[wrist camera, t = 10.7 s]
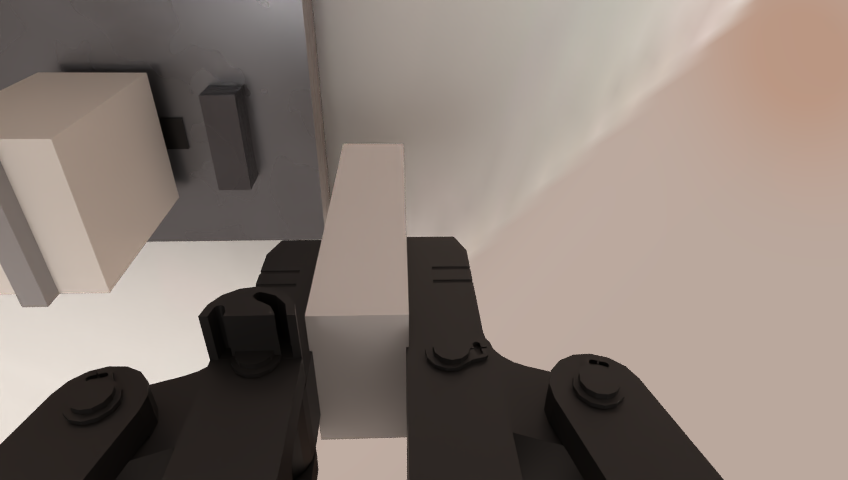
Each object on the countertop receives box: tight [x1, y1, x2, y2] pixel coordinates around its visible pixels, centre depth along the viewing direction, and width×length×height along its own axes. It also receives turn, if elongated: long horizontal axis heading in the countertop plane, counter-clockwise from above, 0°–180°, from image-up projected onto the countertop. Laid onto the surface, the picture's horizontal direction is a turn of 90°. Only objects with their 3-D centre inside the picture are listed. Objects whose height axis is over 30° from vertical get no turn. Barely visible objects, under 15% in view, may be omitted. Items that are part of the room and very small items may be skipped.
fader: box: [0, 72, 179, 307], centre depth 14 cm, size 4×3×6 cm
